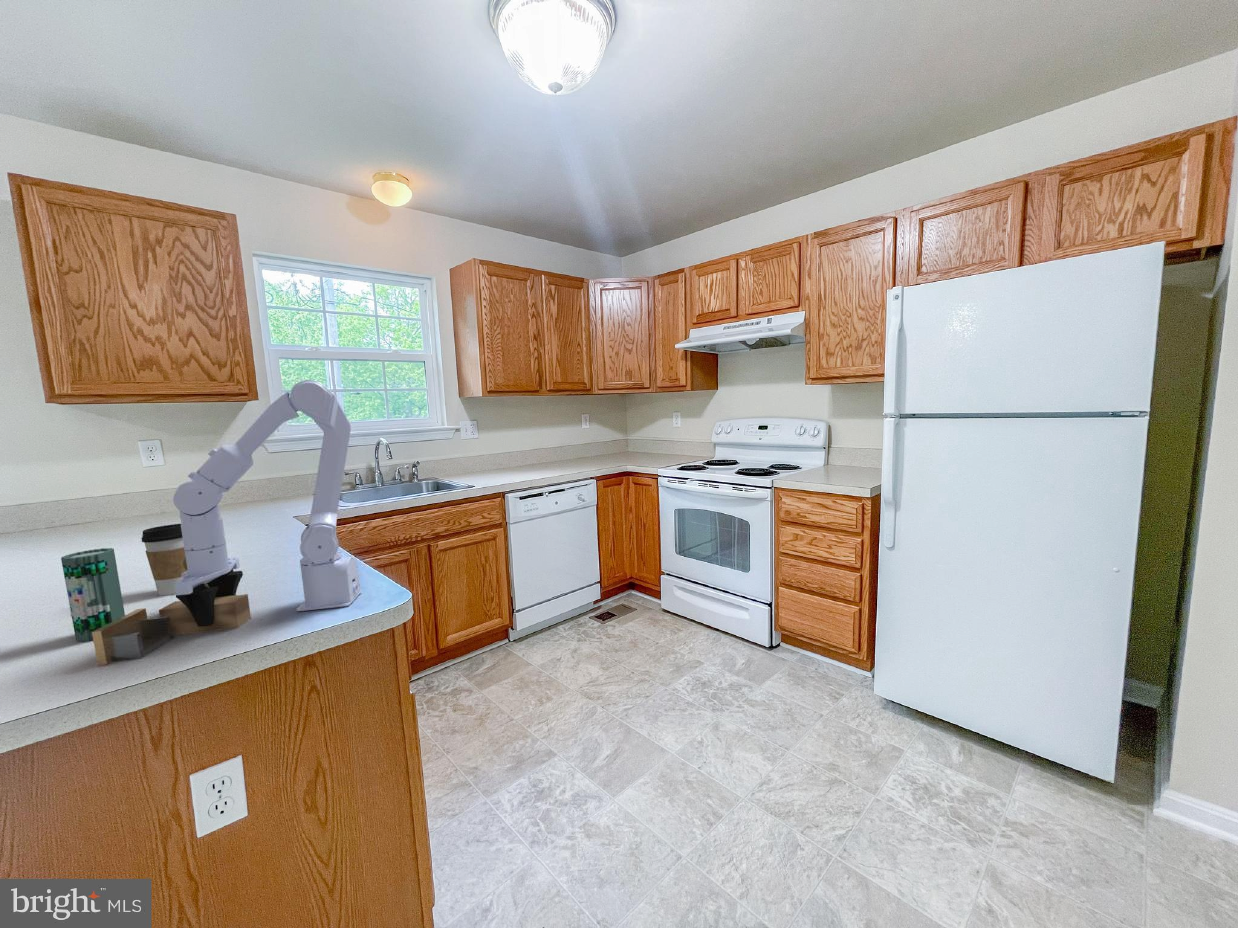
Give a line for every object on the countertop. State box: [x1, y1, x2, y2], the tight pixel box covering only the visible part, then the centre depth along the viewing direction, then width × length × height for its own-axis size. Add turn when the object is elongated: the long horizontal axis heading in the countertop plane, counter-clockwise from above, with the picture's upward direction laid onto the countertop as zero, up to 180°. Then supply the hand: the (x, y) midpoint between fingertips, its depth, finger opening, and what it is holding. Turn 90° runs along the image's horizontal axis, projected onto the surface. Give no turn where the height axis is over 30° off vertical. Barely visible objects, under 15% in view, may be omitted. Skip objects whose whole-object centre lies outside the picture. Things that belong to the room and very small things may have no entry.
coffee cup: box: [141, 523, 187, 597], centre depth 109 cm, size 8×8×15 cm
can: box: [60, 547, 126, 643], centre depth 87 cm, size 6×6×15 cm
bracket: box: [92, 608, 174, 666], centre depth 81 cm, size 5×9×6 cm, turn 10°
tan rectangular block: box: [158, 594, 252, 636], centre depth 89 cm, size 12×4×5 cm, turn 100°
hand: (216, 618), depth 89 cm, fingers open, 5 cm apart
